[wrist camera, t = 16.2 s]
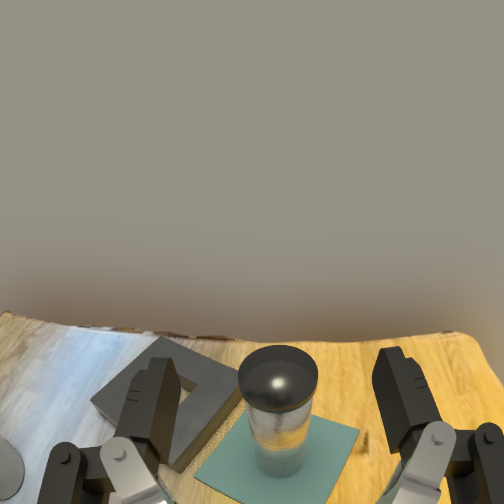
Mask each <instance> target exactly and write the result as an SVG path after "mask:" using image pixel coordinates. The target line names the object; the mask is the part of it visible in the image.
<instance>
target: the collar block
mask: <svg viewBox="0 0 504 504" xmlns="http://www.w3.org/2000/svg"><path fill="white" fill-rule="evenodd" d="M152 357H170V358H172V360H173V363H174V366H175V369H176V371H177V374H178V377H179V380H180V384H181V387H182V388H184V389H186V390H188V391H190V392H191V393H190V394H189V395H188V396H187V398H186V399H185V400H184V401H183V402H182V403H181V404H180V405H179V406H178V410H177V415H176V421H175V426H174V432H173V438H172V443H171V449H170V455H169V461H168V464H166V465H168V466H169V467H171V468H172V469H174V470H175V471H177V472H178V473H180V474H181V473H182V471H183V470H184V469H185V468H186V467H187V466H188V464H189V463H190V462H191V461H192V460H193V459H194V457H195V456H196V455H197V454H198V453H199V451H200V450H201V449H202V448H203V447H204V445H205V444H206V443H207V442H208V440H209V439H210V438H211V437H212V436H213V434H214V433H215V432H216V431H217V429H218V428H219V427H220V426H221V424H222V423H223V422H224V421H225V419H226V418H227V417H228V416H229V414H230V413H231V412H232V410H233V409H234V408H235V407H236V405H237V404H238V403H239V401H240V400H241V399H242V397H243V396H242V394H241V392H240V388H239V382H238V370H235V369H233V368H231V367H228V366H226V365H224V364H221V363H219V362H217V361H214V360H212V359H210V358H208V357H205V356H203V355H201V354H199V353H197V352H194V351H192V350H190V349H188V348H186V347H184V346H182V345H180V344H177V343H175V342H173V341H171V340H169V339H167V338H165V337H163V336H160V337H159V338H158V339H157V340H156V341H155V342H153V343H152V344H151V345H150V346H149V347H148V348H147V349H146V350H144V351H143V352H142V353H141V354H140V355H139V356H138V357H137V358H136V359H134V360H133V361H132V362H131V363H130V364H129V365H128V366H127V367H126V368H124V369H123V370H122V371H121V372H120V373H119V374H118V375H117V376H116V377H114V378H113V379H112V380H111V381H110V382H109V383H108V384H107V385H106V386H104V387H103V388H102V389H101V390H100V391H99V392H98V393H97V394H96V395H94V396H93V397H92V398H91V399H90V401H91V402H92V404H93V405H94V406H95V408H96V409H97V410H98V412H99V413H100V414H101V415H102V416H103V417H105V418H106V419H107V420H108V421H109V422H110V423H112V424H113V425H114V426H115V427H117V425H118V421H119V418H120V415H121V411H122V408H123V405H124V402H125V401H126V399H125V398H126V395H127V392H128V389H129V386H130V383H131V380H132V378H133V377H134V376H135V374H136V373H137V372H138V371H139V370H140V369H143V370H147V368H148V365H149V362H150V359H151V358H152Z"/></svg>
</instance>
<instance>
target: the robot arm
mask: <svg viewBox="0 0 504 504" xmlns="http://www.w3.org/2000/svg"><path fill="white" fill-rule="evenodd" d="M372 385H373V389H374V393H375V396H376V400H377V403H378V407H379V410H380V414H381V418H382V422H383V425H384V429H385V433H386V437H387V441H388V445H389V449H390V453H391V454H394V453H399V452H400V456H401V459H400V461H399V463H398V465H397V467H396V469H395V471H394V473H393V475H392V477H391V479H390V480H389V482H388V484H387V486H386V488H385V490H384V491H383V493H382V495H381V496H380V498H379V499H378V501H377V502H376V503H375V504H437V503H438V501H439V498H440V495H441V490H439V486H440V483H441V481H442V479H443V477H446V479H447V483H448V488H449V493H450V499H451V504H504V435H503V432H502V430H501V429H500V427H499V426H497V425H496V424H494V423H490V422H488V423H484V424H482V425H480V426H479V427H478V428H477V429H476V430H457V429H453V427H452V426H451V425H449V424H448V423H446V422H443V420H442V418H441V416H440V414H439V411H438V408H437V406H436V403H435V401H434V398H433V396H432V393H431V391H430V388H428V383H427V381H426V379H425V376H424V374H423V371H422V369H421V367H420V365H419V364H418V363H417V362H416V361H415V360H414V359H413V358H412V357H411V358H405V356H404V354H403V351H402V349H401V348H400V347H399V346H396V347H389V348H382V349H380V351H379V354H378V357H377V360H376V363H375V366H374V369H373V373H372ZM180 394H181V384H180V380H179V377H178V374H177V371H176V369H175V366H174V363H173V360H172V358H170V357H152V358H151V359H150V362H149V365H148V368H147V370H143V369H140V370H139V371H138V372H137V373H136V374H135V376H134V377H133V378H132V380H131V383H130V386H129V389H128V392H127V395H126V398H125V399H126V401H125V402H124V405H123V408H122V411H121V415H120V418H119V421H118V425H117V428H116V431H115V434H114V436H113V437H112V438H111V439H109V440H107V441H106V442H105V443H104V444H103V445H102V446H98V447H90V448H79V449H78V448H77V447H76V446H75V445H74V444H72V443H70V442H61V443H59V444H57V445H55V446H54V447H53V449H52V450H51V452H50V455H49V459H48V462H47V466H46V469H45V473H44V477H43V481H42V485H41V489H40V493H39V497H38V502H37V504H108V503H109V496H110V492H117V494H118V496H119V498H120V500H121V502H122V504H178V503H177V502H176V500H175V499H174V497H173V496H172V494H171V493H170V491H169V490H168V488H167V486H166V485H165V483H164V482H163V480H162V479H161V477H160V475H159V474H158V467H159V463H161V464H168V461H169V455H170V449H171V443H172V438H173V432H174V426H175V421H176V415H177V410H178V405H179V400H180ZM23 477H24V464H23V461H22V458H21V456H20V454H19V452H18V451H17V450H16V449H15V448H14V447H13V446H12V445H11V444H10V443H9V442H8V441H7V440H6V439H4V438H3V437H2V436H1V435H0V500H4V499H8V498H10V497H11V496H13V495H14V494H15V493H16V492H17V491H18V489H19V488H20V486H21V483H22V481H23Z"/></svg>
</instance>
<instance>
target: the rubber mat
mask: <svg viewBox="0 0 504 504" xmlns="http://www.w3.org/2000/svg"><path fill="white" fill-rule="evenodd" d="M359 431H360V430H359V429H356V428H352V427H349V426H346V425H342V424H339V423H336V422H333V421H330V420H327V419H324V418H321V417H318V416H315V415H312V414H311V417H310V424H309V432H308V439H307V447H306V453H305V460H304V464H303V466H302V468H301V469H300V470H299V471H298V472H297V473H296V474H294V475H292V476H290V477H287V478H272V477H269V476H267V475H265V474H264V473H263V472H262V471H261V470H260V469H259V468H258V465H257V462H256V457H255V452H254V447H253V442H252V437H251V431H250V426H249V421H248V415H247V410H245V411H244V412H243V414H242V415H241V416H240V418H239V419H238V420H237V422H236V423H235V424H234V426H233V427H232V428H231V430H230V431H229V432H228V433H227V435H226V436H225V437H224V439H223V440H222V441H221V442H220V444H219V445H218V446H217V448H216V449H215V450H214V451H213V453H212V454H211V455H210V456H209V457H208V459H207V460H206V461H205V462H204V464H203V465H202V466H201V467H200V468H199V470H198V471H197V472H196V473H195V474H194V478H196V479H198V480H199V481H201V482H203V483H205V484H206V485H208V486H210V487H212V488H213V489H215V490H217V491H219V492H221V493H223V494H224V495H226V496H228V497H230V498H232V499H234V500H236V501H238V502H240V503H242V504H325V502H326V500H327V498H328V496H329V494H330V492H331V490H332V489H333V487H334V485H335V483H336V481H337V479H338V477H339V475H340V473H341V471H342V469H343V466H344V464H345V462H346V460H347V458H348V456H349V454H350V451H351V449H352V447H353V445H354V442H355V440H356V438H357V435H358V433H359Z"/></svg>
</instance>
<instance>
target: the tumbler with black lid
mask: <svg viewBox="0 0 504 504" xmlns="http://www.w3.org/2000/svg"><path fill="white" fill-rule="evenodd" d="M317 381H318V369H317V365H316V363H315V361H314V360H313V359H312V357H311V356H310V355H308V354H307V353H306V352H304V351H303V350H301V349H298V348H296V347H292V346H287V345H272V346H267V347H263V348H260V349H258V350H256V351H254V352H252V353H251V354H250V355H248V356H247V357H246V358H245V359H244V360H243V362H242V363H241V365H240V367H239V371H238V382H239V388H240V392H241V394H242V396H243V398H244V399H245V405H246V410H247V415H248V421H249V426H250V431H251V437H252V442H253V447H254V452H255V457H256V462H257V465H258V468H259V469H260V470H261V471H262V472H263V473H264V474H265V475H267V476H269V477H272V478H287V477H290V476H292V475H294V474H296V473H297V472H298V471H299V470H300V469H301V468H302V466H303V464H304V460H305V453H306V447H307V439H308V432H309V424H310V417H311V408H312V400H313V395H314V393H315V391H316V388H317Z"/></svg>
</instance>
